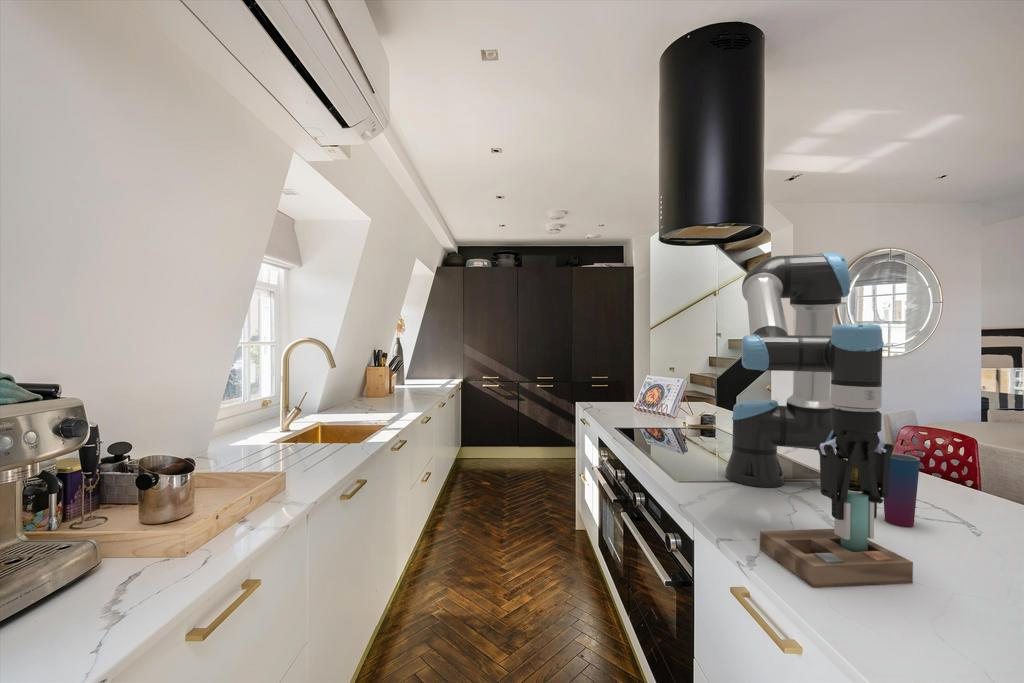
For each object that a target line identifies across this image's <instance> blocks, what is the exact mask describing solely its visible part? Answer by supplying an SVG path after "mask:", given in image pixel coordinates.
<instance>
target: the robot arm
mask: <svg viewBox="0 0 1024 683" xmlns="http://www.w3.org/2000/svg"><path fill="white" fill-rule="evenodd" d="M850 290H851V278H850V270H849V266H848V263H847V261H846V259H845V257H844V256H843V255H842V254H840V253H837V252H819V253H808V254H806V253H805V254H790V255H775V256H771V257H768V258H766V259H763V260H762V261H760V262H758V263H756V265H754V266H752V268H751V269H750V270H749V271H748V272H747V274H746V275H745V276H744V278H743V280H742V284H741V293H742V296H743V298H744V300H745V301H746V305H747V314H748V315H747V316H748V327H749V328H748V329H749V335H744V336H743V337H742V339H741V365H742V367H743V368H745V369H746V370H754V371H755V370H757V371H761V372H766V371H768V372H769V371H771V372H772V371H775V372H776V371H777V372H778V371H781V372H783V371H784V372H793V385H792V386H793V390H792V395H790V396H789V397H787V399H786V404H785V405H779V403H778V401H777V399H776V400H775V399H751V400H750V399H748V400H743V401H739V402H737V403H735V404H734V405H733V409H732V417H731V420H732V440H731V441H732V444H731V445H732V451H731V454H730V456H729V459H728V462H727V464H726V467H725V477H726V479H728V480H730V481H731V482H734V483H737V484H741V485H745V486H750V487H751V486H752V487H759V488H777V487H781V486H784V485H785V484H784V482H785V481H784V479H785V476H784V472H783V469H782V467H781V464H780V461H779V459H778V447H783V448H784V447H785V448H792V449H796V448H797V449H804V450H805V449H807V450H814V451H818V454H819V472H820V473H819V475H820V494H821V495H822V496H823V497H827V498H829V499H830V500H831V516H832V518H834V528H833V529H834V534H836V535H838V536H840V537H842V538H844V539H846V540H850V509H851V504H850V503H848V502H846V499H847V494H848V491H849V488H850V483H851V479H852V473H853V468H854V467H855V466H856V467H857V474H858V479H859V484H860V490H861V492H860V493H862V494H865V495H867V496H868V540H874V539H875V519H876V518H877V517H878V504H882V503H884V500H883V498H887V497H888V494H889V474H890V457H891V454H892V453H894V452H893V451H894V449H895V446H894V445H893V444H891V443H888V442H884V441H881V440H880V439H881V438H880V437H879V435H878V433H879V432H881V431H882V419H883V418H882V413H881V411H880V410H879V409H881V408H882V402H883V401H882V397H883V396H882V394H883V393H882V392H883V390H882V388H883V387H882V386H883V385H882V383H883V349H884V345H885V343H884V341H883V329H882V327H881V326H880V325H878V324H870V323H849V324H848V323H847V324H845V323H843V324H842V323H841V324H836V325H834V312H835V310H836V309H837V308H838V307H839V306H840V305H842V298H845V297H848V296H849V295H850ZM782 299H789V306H790V307H792V308H793V309H794V310H795V327H794V328H795V329H794V333H795V334H794V335H792V334H791V335H789V331H788V326H787V321H786V318H785V317H786V316H785V313H784V308H783V303H782Z"/></svg>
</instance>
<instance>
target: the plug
mask: <svg viewBox="0 0 1024 683" xmlns="http://www.w3.org/2000/svg"><path fill="white" fill-rule="evenodd" d="M846 502H848V503H850V504H851V509H850V540H846V539H844V538H842V537H841V544H840V546H842V547H844V548H846V549H848V550H850V551H851V552H864V551H868V540H869V538H868V496H867V495H865V494H862V492H857V491H852V490H850V491H849V490H848V494H847V499H846Z"/></svg>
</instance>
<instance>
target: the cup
mask: <svg viewBox="0 0 1024 683" xmlns="http://www.w3.org/2000/svg"><path fill="white" fill-rule="evenodd" d="M920 463H921V459H920V457H917V456H914V455H910V454H906V453H905V454H904V453H897V452H892V454H891V457H890V474H889V494H888V497H887V498H882V499H883V511H884V512H883V513H884V515H883V516H884V521H885V522H886V523H888V524H889V525H893V526H897V527H901V528H913V527H915V517H916V516H915V515H916V507H917V506H916V505H917V495H918V484H919V477H920V476H919V475H920V474H919V473H920Z"/></svg>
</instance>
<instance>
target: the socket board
mask: <svg viewBox="0 0 1024 683" xmlns="http://www.w3.org/2000/svg"><path fill="white" fill-rule="evenodd" d="M840 544H841V537H840V536H838V535H836V534H834V528H817V529H811V528H810V529H788V530H787V529H785V530H782V529H781V530H760V531H759V550H760V551H761V552H763V553H765V554H766V555H768V556H769V557H770V558H772V559H773V560H775V561H776V562H777V563H779V564H781V566H783V567H784V568H786V569H787V570H789V571H790V572H791V573H792V574H794V575H796V576H797V577H798V578H800V579H801V580H802V581H804V582H806V583H807V584H808V585H810V586H811V587H812V588H827V587H828V588H829V587H832V588H833V587H851V586H852V587H853V586H871V585H873V586H874V585H876V586H877V585H893V584H894V585H895V584H897V583H898V584H913V582H914V579H913V578H914V574H913V573H914V562H913V561H911V560H910V559H907V558H905V557H904V556H901V555H899V554H898V553H897V552H896V553H895V552H894V551H891V549H888V548H886V547H884V546H881V545H879V544H878V543H876V542H873V541H871V539H868V551H864V552H851V551H850V550H848V549H846V548H844V547H842V546H840Z"/></svg>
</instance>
